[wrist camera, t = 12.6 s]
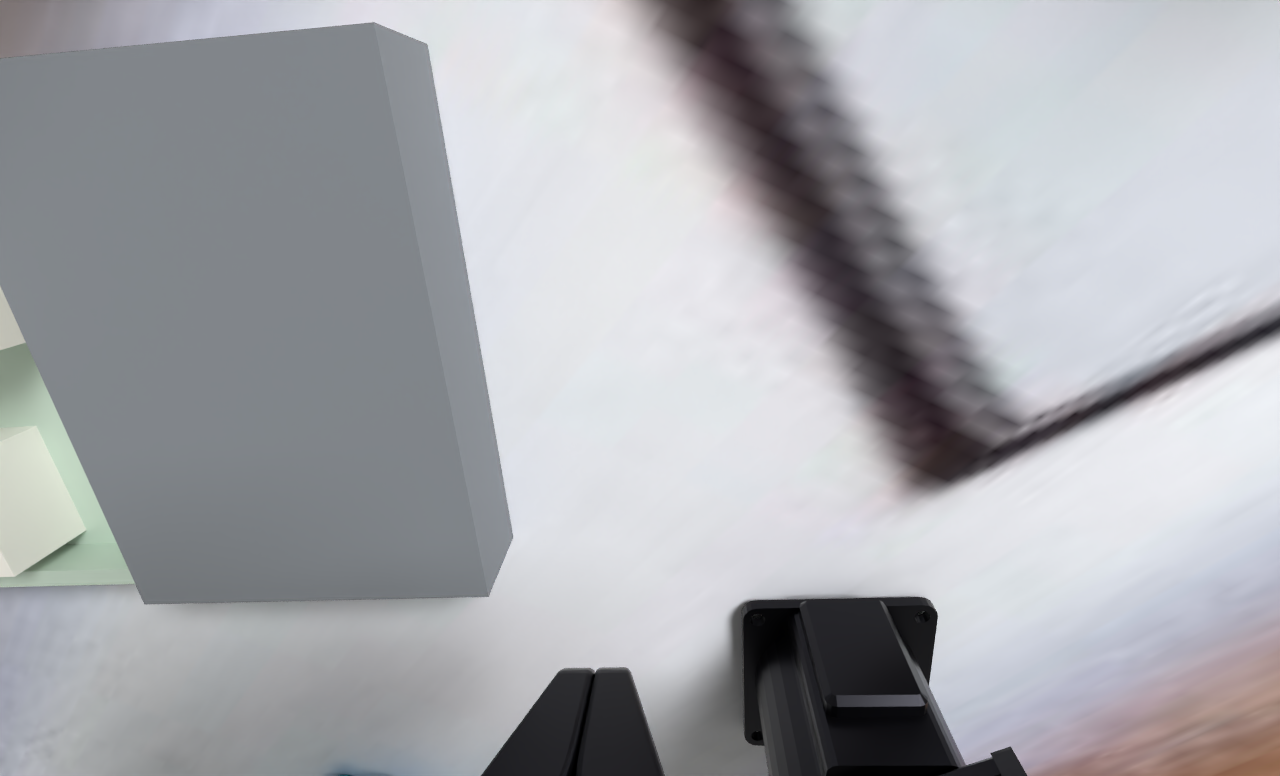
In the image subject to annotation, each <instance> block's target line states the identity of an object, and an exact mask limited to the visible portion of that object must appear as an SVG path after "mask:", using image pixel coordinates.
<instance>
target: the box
mask: <svg viewBox="0 0 1280 776" xmlns="http://www.w3.org/2000/svg"><path fill="white" fill-rule="evenodd" d="M23 426H37V429H38V431H39V433H40V435H41V437H42V439H43V441H44V443H45V445H46V447H47V449H48V451H49V453H50V455H51V457H52V460H53V462H54V464H55V466H56V468H57V470H58V472H59V474H60V476H61V478H62V480H63V482H64V484H65V486H66V488H67V491H68V493H69V495H70V497H71V499H72V501H73V503H74V505H75V507H76V509H77V511H78V513H79V515H80V517H81V519H82V522H83V524H84V526H85V528H86V531H84V532H83V533H81V534H80V535H78V536H76V537H75V538H73V539H72V540H70V541H69V542H67V543H66V544H64V545H63V546H61V547H60V548H58V549H57V550H55V551H53V552H52V553H50V554H49V555H47V556H46V557H44V558H43V559H41V560H40V561H38V562H37V563H35V564H34V565H32V566H31V567H29V568H27V569H26V570H24V571H23V572H21V573H20V574H18V575H17V576H15V577H0V587H32V586H73V585H113V584H135V582H134V580H133V578H132V576H131V573H130V571H129V569H128V567H127V565H126V562H125V560H124V558H123V556H122V554H121V551H120V549H119V547H118V545H117V542H116V540H115V538H114V536H113V534H112V531H111V529H110V527H109V525H108V523H107V520H106V518H105V516H104V514H103V512H102V509H101V507H100V505H99V503H98V501H97V498H96V496H95V494H94V492H93V490H92V487H91V485H90V483H89V481H88V479H87V476H86V474H85V472H84V470H83V467H82V465H81V463H80V461H79V459H78V456H77V454H76V452H75V450H74V448H73V445H72V443H71V441H70V439H69V437H68V434H67V432H66V430H65V428H64V426H63V423H62V421H61V419H60V417H59V415H58V412H57V410H56V408H55V406H54V404H53V401H52V399H51V397H50V395H49V392H48V390H47V388H46V386H45V384H44V381H43V379H42V377H41V375H40V373H39V370H38V368H37V366H36V364H35V362H34V359H33V357H32V355H31V353H30V351H29V348H28V346H27V344H26V343H23V344H19V345H16V346H13V347H9V348H6V349H3V350H0V428H6V427H23Z"/></svg>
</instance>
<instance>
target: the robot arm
mask: <svg viewBox="0 0 1280 776" xmlns="http://www.w3.org/2000/svg"><path fill="white" fill-rule="evenodd" d="M921 611H925V612H923V613H922V614H919V615H916V614H917V613H918V612H921ZM756 614H759V615H762V616H761V617H758V618H754V617H752V616H753V615H756ZM937 619H938V615H937V611H936V609H935V608H934V606H933V604H932V603H931V601H930V600H928V599H926V598H922V597H901V598H853V599H805V600H757V601H751V602H749V603H747V604H746V605H745V606H744V607H743V609H742V657H743V725H744V735H745V739H746V741H747V742H748V743H750V744H752V745H764V746H765V753H766V760H767V767H768V773H769V776H1027V774H1026V773H1025V771H1024V769H1023V767H1022V766H1021V764H1020V762H1019V760H1018V759H1017V757H1016V755H1015V753H1014V752H1013V750H1012V748H1011V747H1008V748H1005V749H1002V750H999V751H996V752H993V753H991V755H992V757H991V758H988V759H985V760H982V761H979V762H975V763H972V764H969V765H965V762H964V760H963V758H962V756H961V754H960V752H959V750H958V747H957V745H956V743H955V741H954V739H953V737H952V735H951V733H950V730H949V728H948V726H947V724H946V722H945V720H944V718H943V715H942V713H941V711H940V709H939V707H938V705H937V703H936V700H935V698H934V696H933V694H932V692H931V690H930V688H929V680H930V672H931V665H932V657H933V649H934V642H935V634H936V626H937ZM756 731H757V732H756ZM481 776H665V775H664V772H663V769H662V766H661V762H660V759H659V756H658V753H657V750H656V747H655V744H654V741H653V738H652V735H651V732H650V729H649V726H648V723H647V720H646V717H645V714H644V711H643V708H642V705H641V702H640V699H639V696H638V692H637V689H636V686H635V683H634V680H633V677H632V674H631V672H630V670H629V669H628V668H624V667H619V668H599V669H598V670H597V671H596V673H595V671H594V670H593V669H591V668H564V669H562V670H560V671H559V672H558V673H557V675H556V676H555V677H554V679H553V680H552V681H551V683H550V684H549V685H548V687H547V688H546V689H545V691H544V692H543V693H542V695H541V696H540V697H539V699H538V700H537V701H536V703H535V704H534V705H533V707H532V708H531V709H530V711H529V712H528V713H527V715H526V716H525V717H524V719H523V720H522V722H521V723H520V724H519V726H518V727H517V728H516V730H515V731H514V732H513V734H512V735H511V736H510V738H509V739H508V740H507V742H506V743H505V744H504V746H503V747H502V748H501V750H500V751H499V752H498V754H497V755H496V756H495V758H494V759H493V760H492V762H491V763H490V764H489V766H488V767H487V768H486V770H485V771H484V773H483V774H482V775H481Z"/></svg>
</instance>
